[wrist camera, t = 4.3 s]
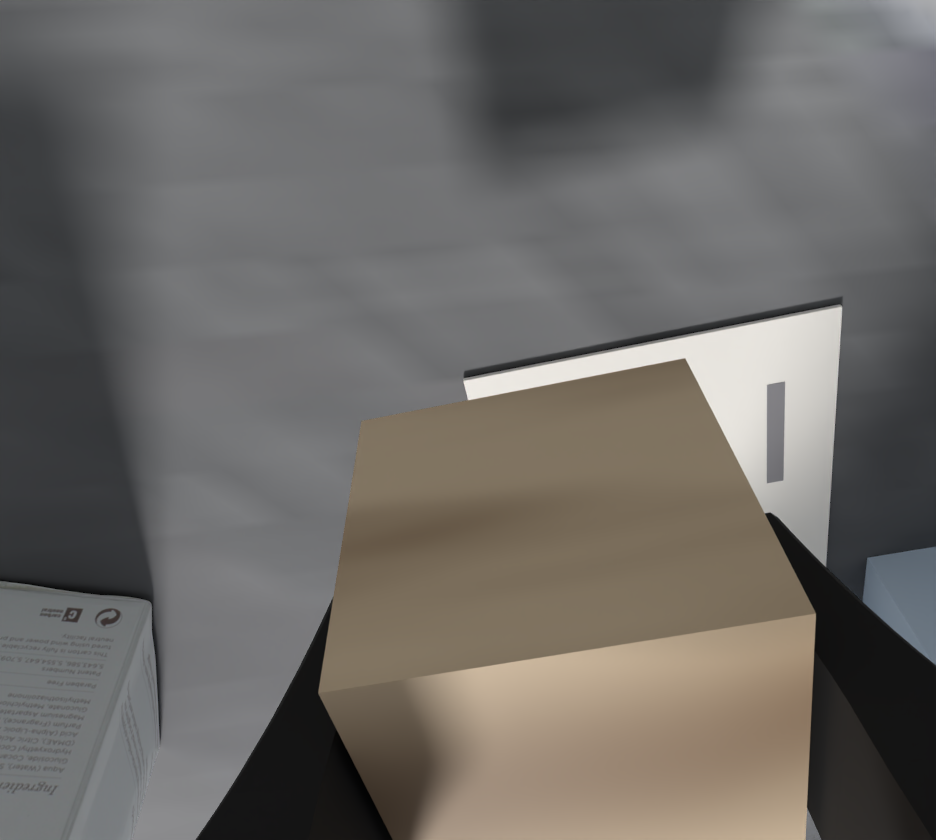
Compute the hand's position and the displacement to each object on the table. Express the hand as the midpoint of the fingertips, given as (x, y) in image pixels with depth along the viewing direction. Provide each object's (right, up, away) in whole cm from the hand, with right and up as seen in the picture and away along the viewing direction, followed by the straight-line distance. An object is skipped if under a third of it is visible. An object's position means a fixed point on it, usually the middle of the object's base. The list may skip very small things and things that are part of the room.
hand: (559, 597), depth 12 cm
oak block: (0, +1, +2) cm, 2 cm away
